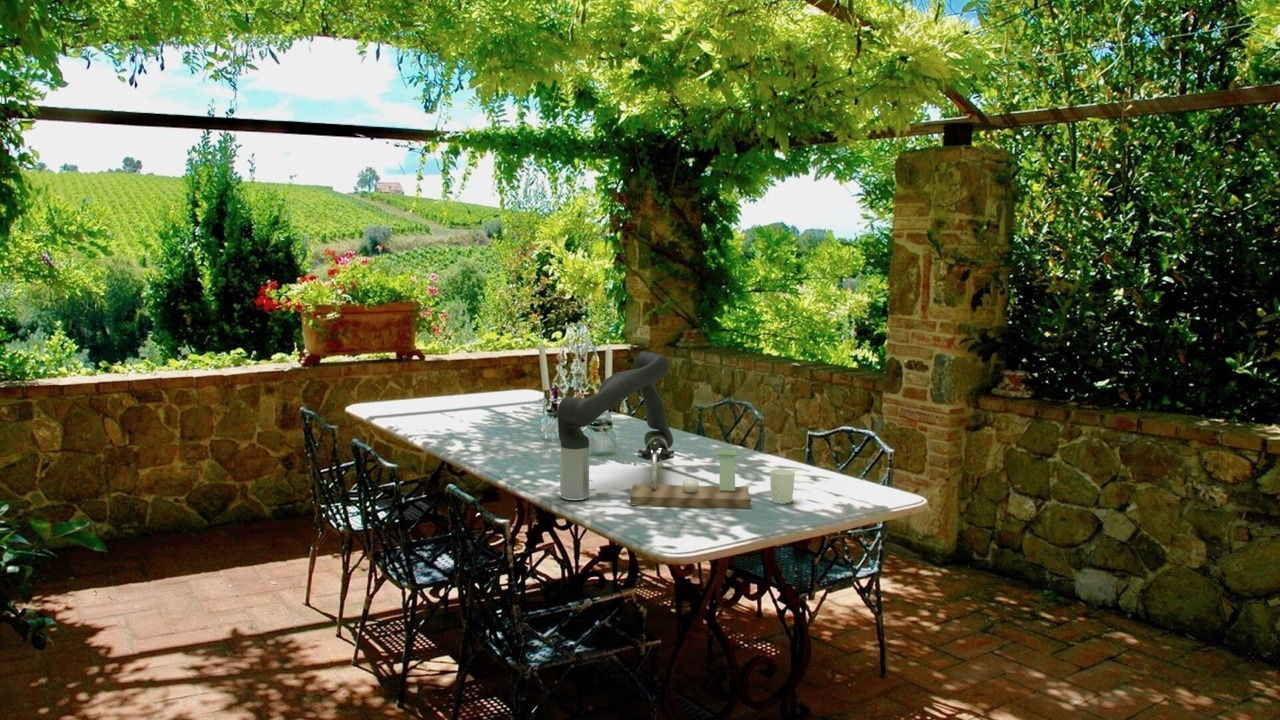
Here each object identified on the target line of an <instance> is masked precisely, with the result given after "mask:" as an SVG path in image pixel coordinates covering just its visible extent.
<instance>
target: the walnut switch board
mask: <svg viewBox="0 0 1280 720" xmlns="http://www.w3.org/2000/svg"><path fill="white" fill-rule="evenodd" d="M631 504H635V505H653V506H652V507H662V506H664V507H667V508H672V507H673V508H705V509H706V508H707V509H711V508H713V509H718V508H719V509H743V508H747V509H748V510H749V509H751V496H750V492H749V487H748V486H735V491H720V485H716V486H715V485H698V492H695V493H687V492H684V491H683V484H682V485H678V484H677V485H676V484H675V485H674V484H673V485H671V484H656V489H651V484H636V483H635V484H633V486H632V490H631V493H630V505H631ZM747 509H746V510H747Z"/></svg>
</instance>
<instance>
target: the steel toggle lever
mask: <svg viewBox="0 0 1280 720" xmlns="http://www.w3.org/2000/svg"><path fill="white" fill-rule="evenodd" d="M659 448H660V445H659V443H657V442H652V443H651V444H650V449H651V450H652V461H651V481H650V482H651V483H650V485H651V489H656V485H657V473H658V472H657V470H658V469H657V468H658V467H657V464H658V462H657V451H658V450H659Z"/></svg>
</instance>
